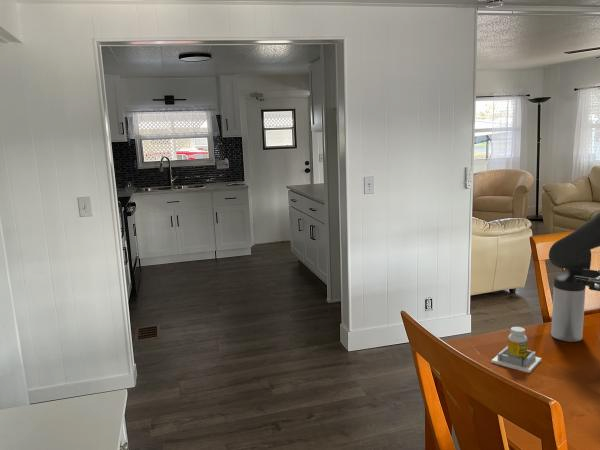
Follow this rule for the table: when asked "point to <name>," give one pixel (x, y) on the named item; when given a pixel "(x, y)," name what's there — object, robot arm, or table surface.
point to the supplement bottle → (517, 343)
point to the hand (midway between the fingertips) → (577, 275)
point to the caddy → (517, 360)
